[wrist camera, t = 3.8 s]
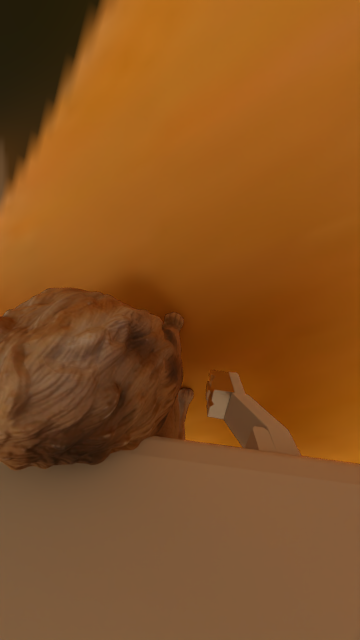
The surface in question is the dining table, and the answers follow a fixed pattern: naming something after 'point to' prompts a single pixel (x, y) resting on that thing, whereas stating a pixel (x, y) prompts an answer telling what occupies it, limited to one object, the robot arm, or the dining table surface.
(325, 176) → the dining table surface
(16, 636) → the robot arm
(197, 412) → the dining table surface
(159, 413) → the lion figurine
